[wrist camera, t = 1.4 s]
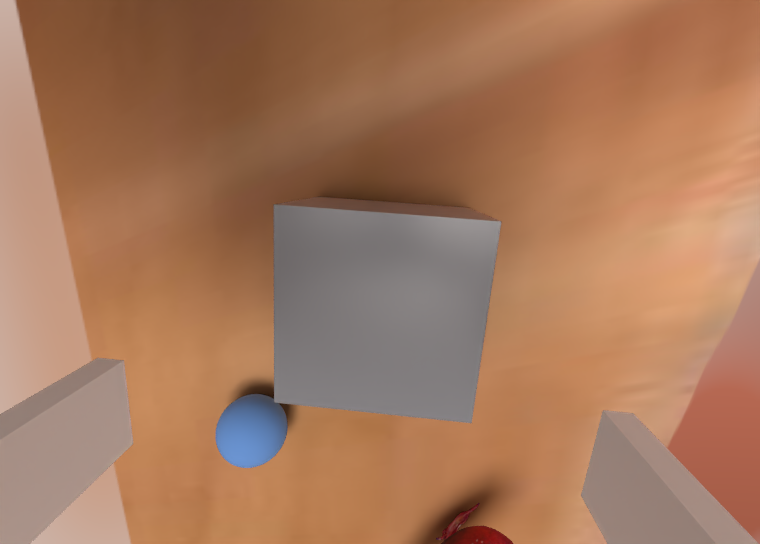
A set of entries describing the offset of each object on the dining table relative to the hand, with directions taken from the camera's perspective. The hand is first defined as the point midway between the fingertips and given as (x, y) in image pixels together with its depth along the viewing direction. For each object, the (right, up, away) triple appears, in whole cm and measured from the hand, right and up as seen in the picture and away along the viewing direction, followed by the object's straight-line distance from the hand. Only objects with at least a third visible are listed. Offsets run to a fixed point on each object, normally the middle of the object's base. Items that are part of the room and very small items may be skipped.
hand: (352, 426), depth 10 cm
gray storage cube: (+1, +4, +16) cm, 17 cm away
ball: (-9, -7, +17) cm, 20 cm away
